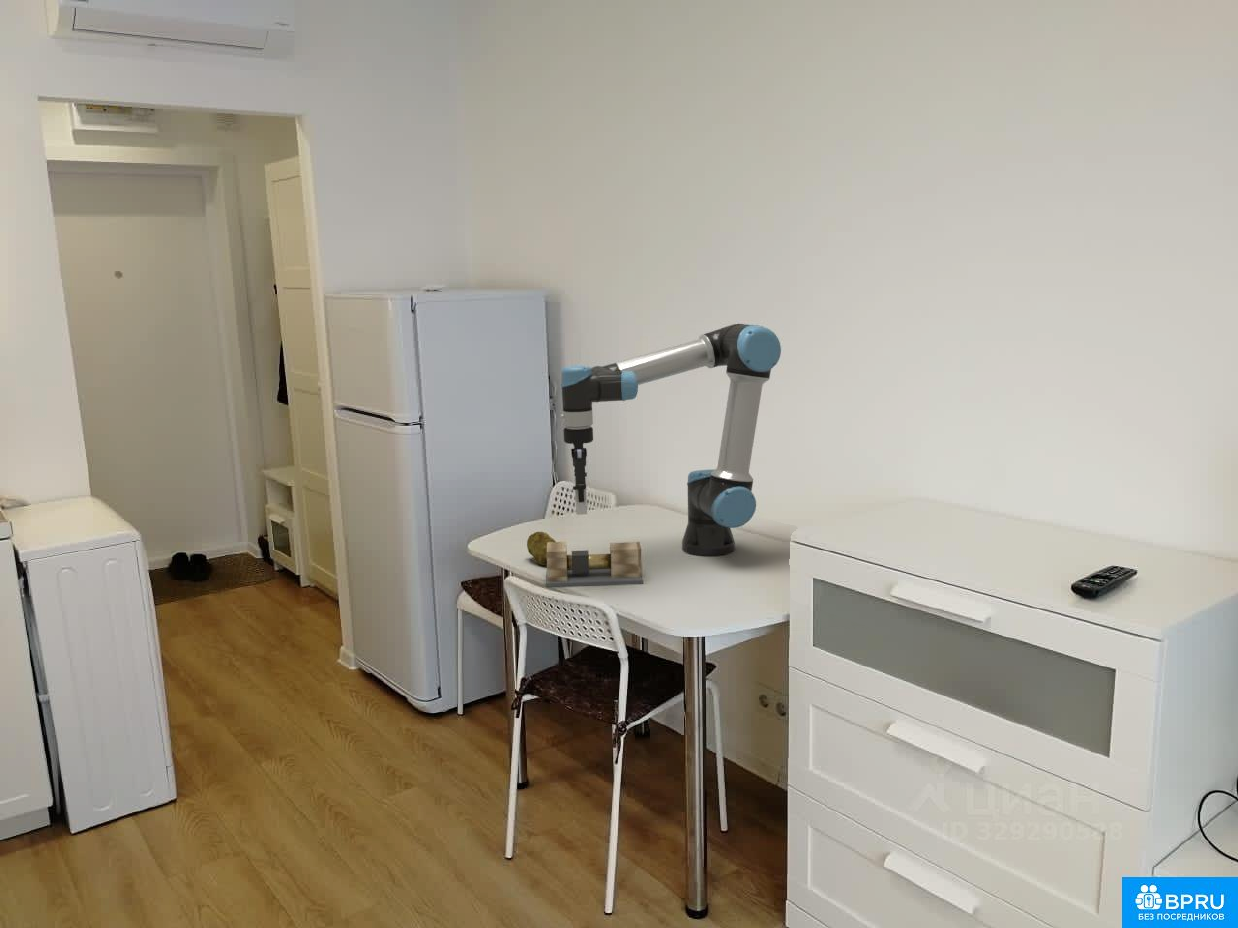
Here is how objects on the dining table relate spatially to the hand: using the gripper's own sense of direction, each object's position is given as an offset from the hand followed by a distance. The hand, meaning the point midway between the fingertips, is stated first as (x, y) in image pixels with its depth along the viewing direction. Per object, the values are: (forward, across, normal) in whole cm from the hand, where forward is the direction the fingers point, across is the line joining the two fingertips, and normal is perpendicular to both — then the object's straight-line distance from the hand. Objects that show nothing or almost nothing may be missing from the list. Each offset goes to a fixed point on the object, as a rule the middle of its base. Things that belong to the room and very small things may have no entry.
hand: (581, 507), depth 253 cm
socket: (+19, +1, -7) cm, 20 cm away
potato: (+19, -15, -11) cm, 26 cm away
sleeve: (+18, +1, +11) cm, 21 cm away
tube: (+17, +1, +1) cm, 17 cm away
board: (+19, +1, +3) cm, 19 cm away
